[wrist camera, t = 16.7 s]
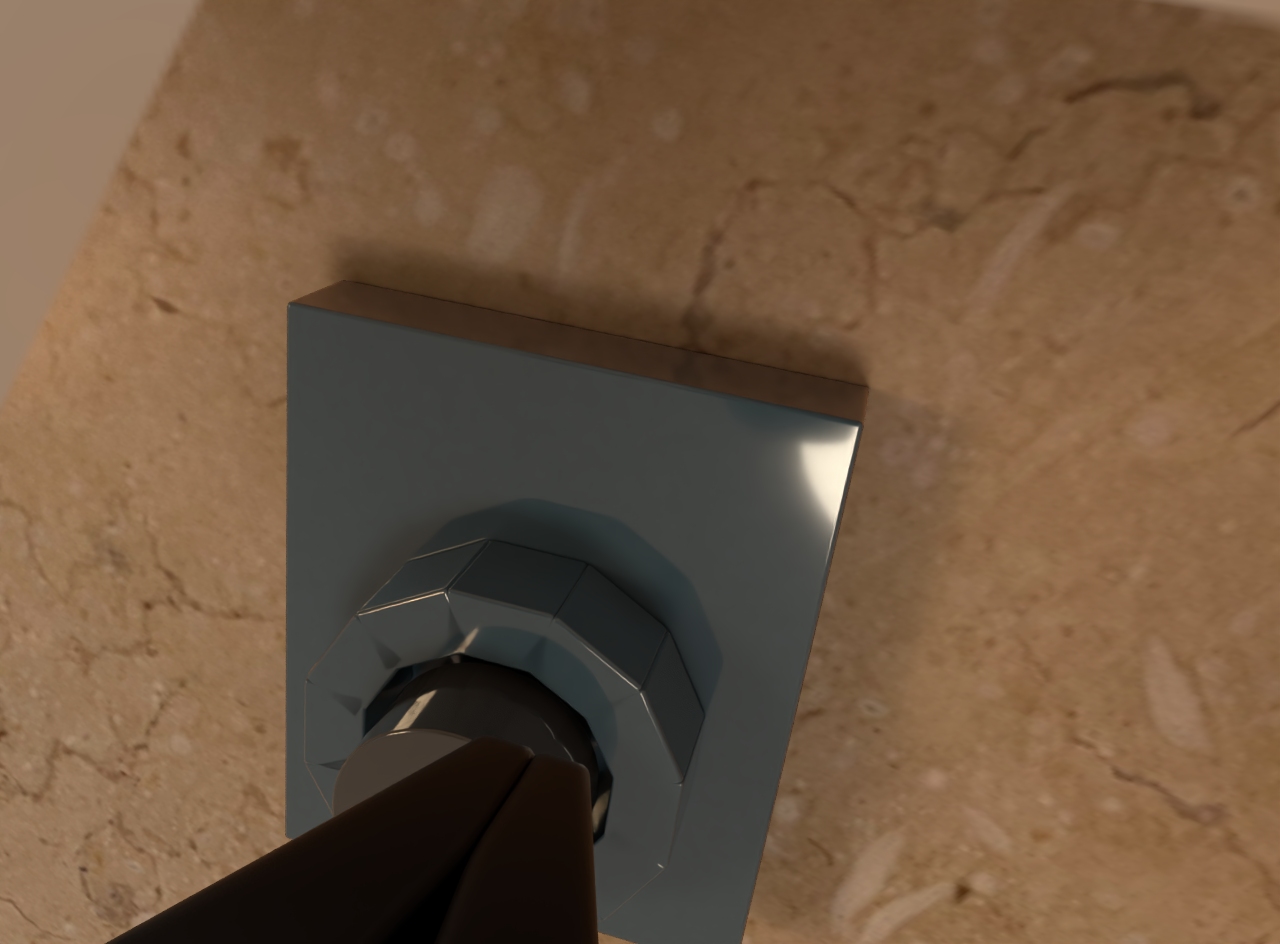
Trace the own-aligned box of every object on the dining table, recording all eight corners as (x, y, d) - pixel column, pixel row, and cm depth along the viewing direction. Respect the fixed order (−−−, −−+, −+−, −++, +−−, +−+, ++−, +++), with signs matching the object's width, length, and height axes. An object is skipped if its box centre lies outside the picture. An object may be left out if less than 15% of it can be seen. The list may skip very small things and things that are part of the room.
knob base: (341, 278, 20) (215, 329, 17) (870, 386, 19) (857, 469, 15) (329, 781, 25) (229, 905, 21) (748, 903, 23) (716, 1060, 20)
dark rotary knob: (391, 636, 19) (332, 701, 17) (614, 694, 18) (577, 769, 16) (383, 816, 20) (328, 894, 18) (586, 876, 19) (550, 964, 18)
